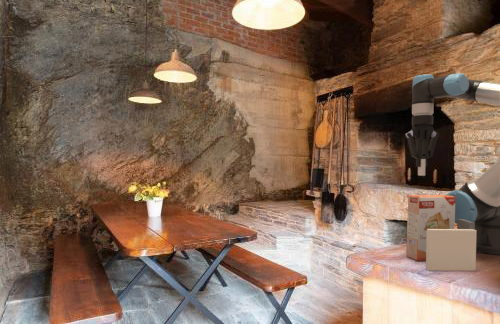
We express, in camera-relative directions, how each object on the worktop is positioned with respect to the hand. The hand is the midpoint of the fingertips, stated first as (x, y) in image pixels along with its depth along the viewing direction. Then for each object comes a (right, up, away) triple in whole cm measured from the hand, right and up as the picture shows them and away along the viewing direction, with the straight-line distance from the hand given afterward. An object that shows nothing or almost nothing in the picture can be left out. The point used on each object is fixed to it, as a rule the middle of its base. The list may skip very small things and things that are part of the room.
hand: (421, 175), depth 133 cm
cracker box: (-8, -27, -21) cm, 35 cm away
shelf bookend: (-8, -27, -29) cm, 40 cm away
